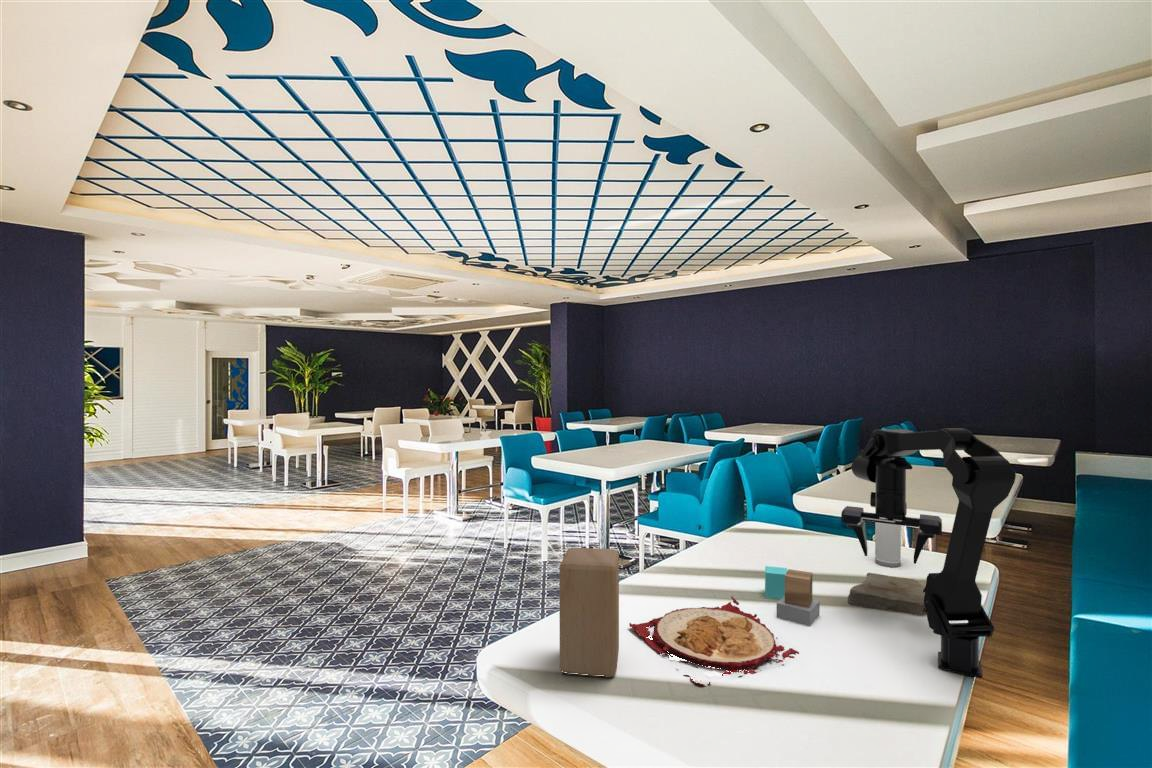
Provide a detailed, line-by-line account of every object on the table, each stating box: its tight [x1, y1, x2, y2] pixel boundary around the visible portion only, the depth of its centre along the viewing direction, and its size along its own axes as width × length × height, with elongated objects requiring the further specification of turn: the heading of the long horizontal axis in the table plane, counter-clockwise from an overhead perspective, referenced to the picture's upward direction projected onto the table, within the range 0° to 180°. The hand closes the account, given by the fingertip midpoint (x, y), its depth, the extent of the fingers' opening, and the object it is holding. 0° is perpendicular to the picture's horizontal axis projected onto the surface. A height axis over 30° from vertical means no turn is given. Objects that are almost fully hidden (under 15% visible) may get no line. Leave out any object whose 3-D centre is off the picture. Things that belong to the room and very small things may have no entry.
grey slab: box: [776, 596, 821, 627], centre depth 124 cm, size 7×7×4 cm
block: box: [559, 547, 620, 677], centre depth 103 cm, size 10×10×20 cm
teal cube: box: [764, 565, 788, 600], centre depth 136 cm, size 5×5×6 cm
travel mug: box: [874, 517, 902, 568], centre depth 158 cm, size 6×7×20 cm
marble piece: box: [847, 572, 925, 616], centre depth 133 cm, size 17×15×4 cm
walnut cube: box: [785, 568, 813, 608], centre depth 124 cm, size 5×5×6 cm
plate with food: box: [628, 595, 800, 686], centre depth 112 cm, size 25×26×4 cm
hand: (890, 559), depth 122 cm, fingers open, 9 cm apart
